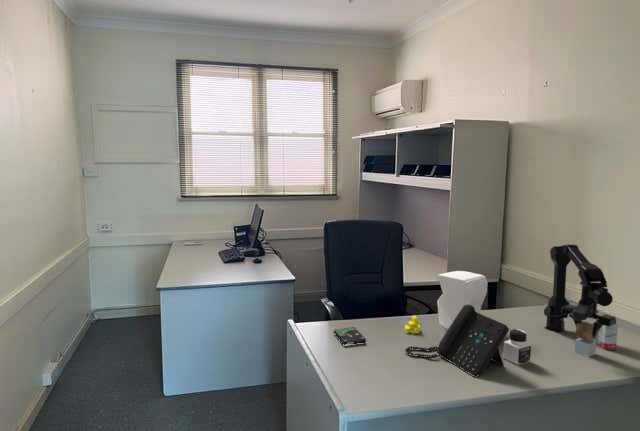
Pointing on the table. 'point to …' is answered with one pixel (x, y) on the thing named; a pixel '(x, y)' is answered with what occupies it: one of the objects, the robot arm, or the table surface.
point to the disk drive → (349, 336)
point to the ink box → (607, 337)
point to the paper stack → (459, 294)
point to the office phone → (470, 341)
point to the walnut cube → (585, 331)
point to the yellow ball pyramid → (413, 325)
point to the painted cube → (585, 347)
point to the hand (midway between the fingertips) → (586, 335)
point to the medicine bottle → (517, 347)
